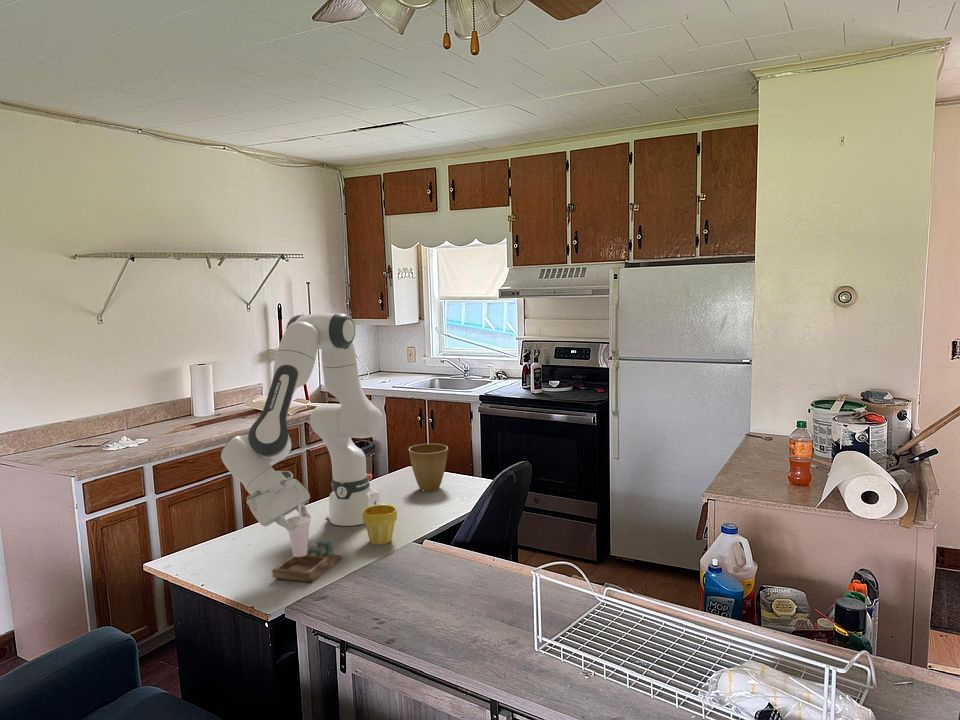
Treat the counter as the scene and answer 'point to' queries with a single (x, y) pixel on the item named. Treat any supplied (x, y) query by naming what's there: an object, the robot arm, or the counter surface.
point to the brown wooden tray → (308, 564)
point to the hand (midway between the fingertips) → (300, 524)
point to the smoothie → (299, 534)
